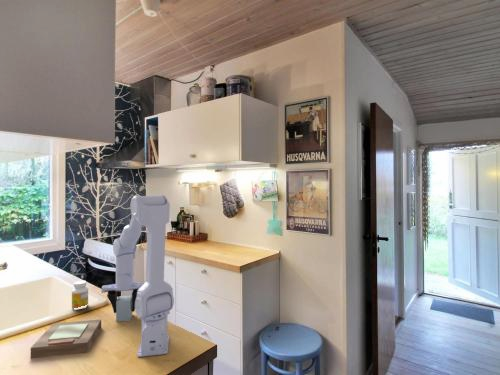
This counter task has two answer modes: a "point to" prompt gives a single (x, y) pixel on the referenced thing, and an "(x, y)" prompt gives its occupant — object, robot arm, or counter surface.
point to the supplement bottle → (79, 294)
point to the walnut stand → (66, 338)
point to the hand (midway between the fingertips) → (124, 311)
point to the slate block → (124, 308)
